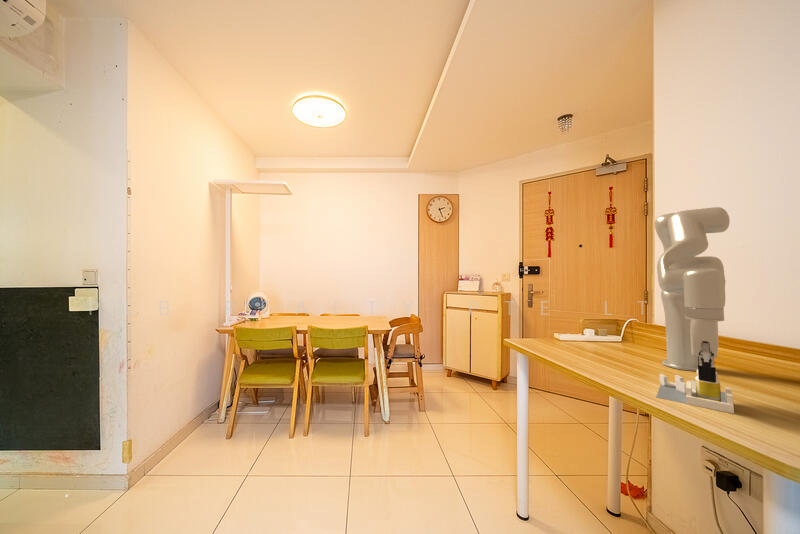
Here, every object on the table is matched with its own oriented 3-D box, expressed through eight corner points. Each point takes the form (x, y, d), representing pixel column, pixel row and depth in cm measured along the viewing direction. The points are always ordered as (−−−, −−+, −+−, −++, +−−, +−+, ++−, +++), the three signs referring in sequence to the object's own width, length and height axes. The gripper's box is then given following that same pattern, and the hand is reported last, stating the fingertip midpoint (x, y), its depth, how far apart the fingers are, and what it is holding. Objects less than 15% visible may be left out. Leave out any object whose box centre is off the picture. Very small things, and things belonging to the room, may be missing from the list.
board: (661, 383, 97) (661, 381, 97) (727, 395, 87) (727, 392, 87) (656, 399, 84) (656, 397, 84) (732, 415, 74) (732, 413, 74)
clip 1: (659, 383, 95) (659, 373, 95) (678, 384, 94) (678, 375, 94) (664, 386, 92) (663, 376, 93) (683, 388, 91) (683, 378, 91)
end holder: (687, 394, 86) (686, 380, 86) (731, 402, 80) (730, 387, 80) (686, 403, 80) (685, 388, 80) (734, 413, 73) (733, 397, 74)
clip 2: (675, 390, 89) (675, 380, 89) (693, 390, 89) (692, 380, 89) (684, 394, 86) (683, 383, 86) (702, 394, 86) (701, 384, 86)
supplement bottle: (726, 406, 77) (724, 374, 78) (705, 405, 78) (703, 373, 79) (711, 399, 82) (709, 368, 82) (691, 398, 83) (690, 368, 83)
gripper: (685, 309, 90) (688, 365, 90) (683, 316, 78) (687, 381, 77) (722, 311, 85) (725, 371, 84) (726, 319, 72) (729, 389, 72)
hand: (706, 376), depth 81 cm, fingers open, 9 cm apart
